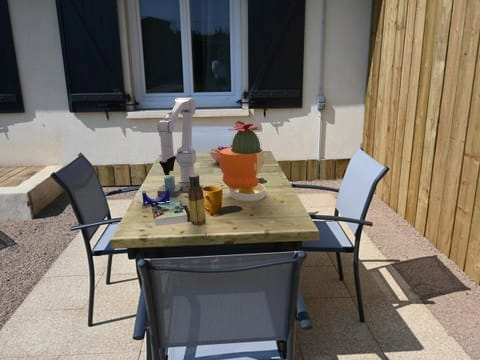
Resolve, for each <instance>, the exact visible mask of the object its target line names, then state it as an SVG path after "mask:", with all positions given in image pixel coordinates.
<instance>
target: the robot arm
mask: <svg viewBox="0 0 480 360" xmlns="http://www.w3.org/2000/svg"><path fill="white" fill-rule="evenodd" d="M196 105H197V104H196V100H195V99H194V97H175V99H174V103H173V108H172V110H170V111H168V112H167V113H166V115H165V116H164V118H163V119H162V120H159V121H158V123H157V125H156V126H157V132H158V135H159V138H160V150H161V153H159V157H161V160H159V162H158V163H159V165H160V166H161V168H162V171H163V174H164V176H170V174H171V172H174V167H175V161H176V163H177V164H178V166H179V172H180V175H179V176H180V179H179V181H178V183H190V180H189V175H192V174H196V173H195V164H196V162H197V152H196V151H197V150H196V149H195V148H194V147H192V135H193V116H194V115H195V114H196ZM179 115H182V134H181V146H180V147H179V148H178V149H177V150H176V155H175V152H174V142H173V140H174V139H173V133H174V130H175V126H176V123H177V122H178V120H179Z"/></svg>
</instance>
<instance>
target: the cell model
mask: <svg viewBox="0 0 480 360" xmlns="http://www.w3.org/2000/svg"><path fill="white" fill-rule="evenodd" d="M230 147H232V144H230V145H229V146H218V147H215V148H211V149H210V150H209V151H208V152H209V154H210V157H211V158H212V160H214V161H215V162H216V163H219V156H220V151H221V150H223V149H226V148H230ZM219 164H220V163H219Z"/></svg>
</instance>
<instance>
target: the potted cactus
mask: <svg viewBox="0 0 480 360" xmlns="http://www.w3.org/2000/svg"><path fill="white" fill-rule="evenodd" d="M232 127H233V128H228V131H236V133H234V136H233V138H232V139H231V140H232V142H231V145H232V147H230V146H229V147H230V148H226V149H223V150H221V151H220V156H219V168H220V171H221V172H222V174H223V175H222V182H223V183H224V185H226V187H228V195H229V196H230V197H231V198H233V199H235V200H238V201H242V202H243V201H244V202H255V201H260V200H263V199H264V198H265V197H266V186H265V185H263V184H261V183H260V180H259V178H258V177H257V175H259V174H260V173H261V170H262V169H263V165H264V161H265V159H264V158H265V157H264V156H265V155H264V149H262V147H261V146H262V144H261V141H260V138H259V136H258V135H257V132H255V131H258V130H262V128H261V127H260V126H259V125H258V124H254V123H253V122H252V123H245V122H244V121H241V120H237V121H236V122H234V125H233V126H232Z"/></svg>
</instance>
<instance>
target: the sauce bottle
mask: <svg viewBox="0 0 480 360" xmlns="http://www.w3.org/2000/svg"><path fill="white" fill-rule="evenodd" d="M189 180H190V182H189V186H190V188H189V190H188V193H187V196H188V197H187V198H188V200H187V202H188V208H189V220H190V223H191V224H192V225H195V226H200V225H204V224H205V223H206V222H207V220H206V219H207V215H206V206H205V205H206V204H205V196H204V190H203V188H201V187H200V186H201V185H200V174H197V173H195V174H192V175H189Z"/></svg>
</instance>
